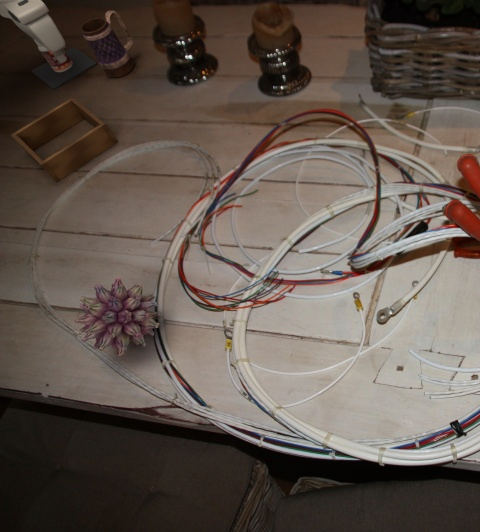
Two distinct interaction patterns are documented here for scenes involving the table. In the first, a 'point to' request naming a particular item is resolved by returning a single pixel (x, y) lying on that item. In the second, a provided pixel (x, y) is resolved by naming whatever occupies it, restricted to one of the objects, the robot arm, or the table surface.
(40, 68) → the mat
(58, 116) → the storage box
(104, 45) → the mug
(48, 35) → the robot arm
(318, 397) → the table surface
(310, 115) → the table surface
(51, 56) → the pill bottle
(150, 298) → the flower
